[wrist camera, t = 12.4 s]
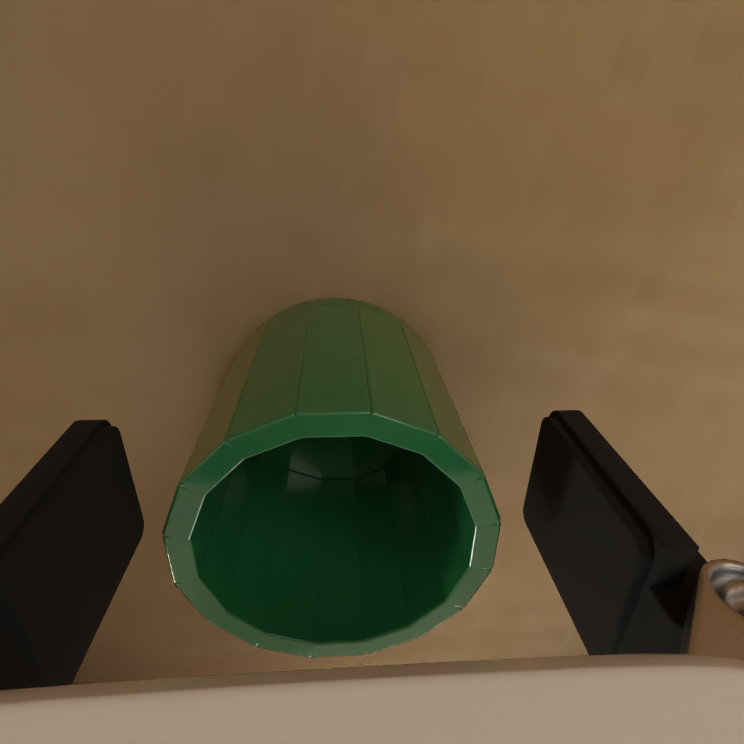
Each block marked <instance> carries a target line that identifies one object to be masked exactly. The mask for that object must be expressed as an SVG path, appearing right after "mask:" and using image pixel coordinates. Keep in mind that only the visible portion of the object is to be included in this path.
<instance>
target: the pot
mask: <svg viewBox="0 0 744 744" xmlns="http://www.w3.org/2000/svg"><path fill="white" fill-rule="evenodd" d="M500 525H501V522H500V516H499V513H498V510H497V508H496V505H495V502H494V499H493V496H492V494H491V491H490V488H489V485H488V483H487V480H486V477H485V474H484V472H483V470H482V468H481V465H480V463H479V461H478V459H477V456H476V454H475V452H474V450H473V447H472V445H471V443H470V441H469V438H468V436H467V434H466V431H465V429H464V427H463V425H462V422H461V420H460V418H459V416H458V413H457V411H456V409H455V407H454V404H453V402H452V400H451V398H450V395H449V393H448V391H447V388H446V386H445V384H444V382H443V379H442V377H441V375H440V373H439V370H438V368H437V366H436V364H435V361H434V359H433V357H432V355H431V353H430V352H429V350H428V349H427V347H426V346H425V344H424V343H423V341H422V340H421V338H420V337H419V336H418V335H417V334H416V333H415V332H414V330H413V329H412V328H410V327H409V326H408V325H407V324H406V323H405V322H403V321H402V320H401V319H399V318H398V317H396V316H395V315H393V314H391V313H390V312H388V311H385V310H383V309H381V308H379V307H377V306H374V305H371V304H367V303H364V302H360V301H354V300H348V299H322V300H315V301H310V302H305V303H302V304H299V305H296V306H293V307H290V308H288V309H286V310H284V311H282V312H280V313H278V314H276V315H275V316H273V317H272V318H270V319H269V320H267V321H266V322H264V323H263V324H262V325H261V326H260V327H259V328H258V329H257V330H255V332H254V333H253V334H252V335H251V336H250V337H249V339H248V340H247V341H246V343H245V344H244V346H243V347H242V349H241V350H240V352H239V353H238V355H237V356H236V358H235V360H234V362H233V364H232V366H231V369H230V371H229V373H228V375H227V377H226V380H225V382H224V384H223V386H222V388H221V391H220V393H219V395H218V397H217V400H216V402H215V404H214V406H213V408H212V411H211V413H210V415H209V417H208V419H207V422H206V424H205V426H204V428H203V430H202V433H201V435H200V437H199V439H198V441H197V444H196V446H195V448H194V450H193V453H192V455H191V457H190V459H189V461H188V464H187V466H186V468H185V470H184V472H183V475H182V477H181V479H180V481H179V483H178V486H177V489H176V492H175V495H174V498H173V501H172V504H171V508H170V511H169V514H168V517H167V520H166V523H165V526H164V529H163V540H164V544H165V549H166V553H167V557H168V561H169V565H170V569H171V573H172V578H173V582H175V585H176V587H177V588H178V589H179V590H180V591H181V592H182V593H183V595H184V596H185V597H186V598H187V599H188V600H189V601H190V603H191V604H192V605H193V606H194V607H195V608H196V609H197V611H198V612H199V613H200V614H201V615H202V616H203V617H204V619H205V620H207V621H209V623H211V624H212V625H214V626H216V627H218V628H220V629H222V630H224V631H226V632H228V633H230V634H231V635H233V636H235V637H237V638H239V639H241V640H243V641H245V642H247V643H249V644H250V645H252V646H256V647H257V648H262V649H267V650H272V651H277V652H282V653H287V654H292V655H297V656H302V657H307V658H310V657H312V658H319V657H337V656H354V655H365V654H366V653H367V654H371V653H374V652H377V651H380V650H383V649H386V648H390V647H393V646H396V645H399V644H402V643H405V642H409V641H412V640H415V639H417V638H418V637H422V636H423V635H425V634H426V633H428V632H429V631H431V630H432V629H434V628H435V627H437V626H438V625H440V624H441V623H443V622H444V621H446V620H447V619H449V618H450V617H452V616H453V615H455V614H456V613H458V612H459V611H461V610H462V608H464V607H465V606H466V605H467V603H468V602H469V600H470V599H471V598H472V596H473V595H474V594H475V592H476V591H477V590H478V588H479V587H480V586H481V584H482V583H483V581H484V580H485V579H486V577H487V576H488V575H489V573H490V572H491V568H493V564H494V558H495V553H496V547H497V542H498V536H499V531H500Z"/></svg>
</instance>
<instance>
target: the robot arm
mask: <svg viewBox="0 0 744 744" xmlns="http://www.w3.org/2000/svg"><path fill="white" fill-rule="evenodd" d="M523 514H524V519H525V523H526V525H527V527H528V529H529V531H530V533H531V535H532V537H533V539H534V542H535V544H536V546H537V548H538V550H539V552H540V554H541V556H542V558H543V560H544V562H545V564H546V566H547V569H548V571H549V573H550V575H551V577H552V579H553V581H554V583H555V585H556V587H557V589H558V591H559V593H560V596H561V598H562V600H563V602H564V604H565V606H566V608H567V610H568V612H569V614H570V616H571V618H572V621H573V623H574V625H575V627H576V629H577V631H578V633H579V635H580V637H581V639H582V641H583V643H584V645H585V648H586V650H587V652H588V654H589V655H587V656H557V657H538V658H518V659H499V660H479V661H459V662H440V663H421V664H403V665H385V666H367V667H349V668H331V669H314V670H297V671H279V672H262V673H245V674H229V675H213V676H197V677H181V678H165V679H149V680H133V681H117V682H101V683H88V684H75V685H71V684H72V682H73V680H74V678H75V676H76V674H77V672H78V670H79V667H80V665H81V663H82V661H83V659H84V657H85V655H86V653H87V651H88V649H89V646H90V644H91V642H92V640H93V638H94V636H95V634H96V632H97V630H98V628H99V626H100V623H101V621H102V619H103V617H104V615H105V613H106V611H107V609H108V607H109V605H110V602H111V600H112V598H113V596H114V594H115V592H116V590H117V588H118V586H119V584H120V581H121V579H122V577H123V575H124V573H125V571H126V569H127V567H128V565H129V563H130V561H131V558H132V556H133V554H134V552H135V550H136V548H137V546H138V544H139V542H140V540H141V537H142V534H143V530H144V520H143V516H142V512H141V509H140V505H139V501H138V497H137V494H136V490H135V486H134V483H133V479H132V475H131V471H130V468H129V464H128V460H127V457H126V453H125V449H124V445H123V442H122V438H121V434H120V431H119V429H118V428H117V427H115V426H111V424H110V423H109V422H108V421H107V420H79V421H75V422H74V423H73V424H72V425H71V426H70V427H69V428H68V429H67V430H66V431H65V433H64V434H63V435H62V436H61V437H60V438H59V439H58V440H57V441H56V443H55V444H54V445H53V446H52V447H51V448H50V449H49V450H48V452H47V453H46V454H45V455H44V456H43V457H42V458H41V459H40V460H39V462H38V463H37V464H36V465H35V466H34V467H33V468H32V469H31V471H30V472H29V473H28V474H27V475H26V476H25V477H24V478H23V479H22V481H21V482H20V483H19V484H18V485H17V486H16V487H15V488H14V490H13V491H12V492H11V493H10V494H9V495H8V496H7V497H6V498H5V500H4V501H3V502H2V503H1V504H0V744H744V563H743V562H739V561H736V560H728V559H717V560H711V561H709V562H707V561H706V560H705V559H704V558H703V557H702V556H701V554H700V553H699V552H698V549H699V547H698V545H697V544H696V543H695V542H694V541H693V540H692V538H691V537H690V536H689V535H688V534H687V533H686V532H685V530H684V529H683V528H682V527H681V526H680V525H679V523H678V522H677V521H676V520H675V519H674V518H673V517H672V515H671V514H670V513H669V512H668V511H667V510H666V509H665V507H664V506H663V505H662V504H661V503H660V502H659V500H658V499H657V498H656V497H655V496H654V495H653V494H652V492H651V491H650V490H649V489H648V488H647V487H646V485H645V484H644V483H643V482H642V481H641V480H640V479H639V477H638V476H637V475H636V474H635V473H634V472H633V471H632V469H631V468H630V467H629V466H628V465H627V464H626V462H625V461H624V460H623V459H622V458H621V457H620V456H619V454H618V453H617V452H616V451H615V450H614V449H613V447H612V446H611V445H610V444H609V443H608V442H607V441H606V439H605V438H604V437H603V436H602V435H601V434H600V433H599V431H598V430H597V429H596V428H595V427H594V426H593V424H592V423H591V422H590V421H589V420H588V419H587V418H586V416H585V415H584V414H583V413H582V412H581V411H579V410H562V411H553V412H551V414H550V415H549V417H545V418H544V419H543V420H542V423H541V428H540V432H539V437H538V442H537V446H536V451H535V456H534V460H533V465H532V469H531V474H530V479H529V483H528V488H527V493H526V497H525V502H524V507H523Z"/></svg>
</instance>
